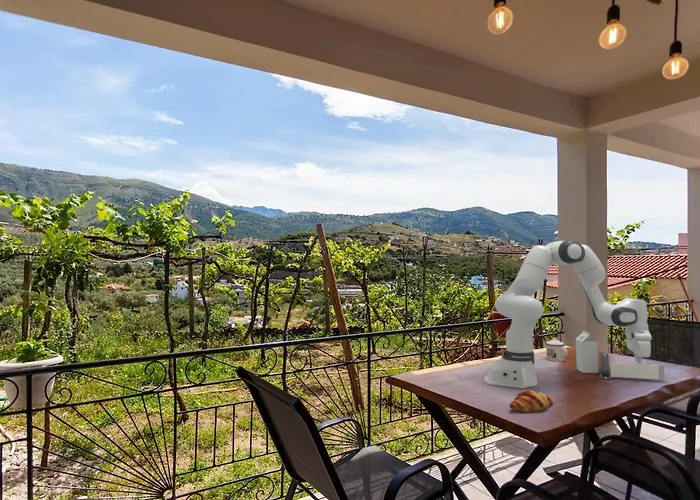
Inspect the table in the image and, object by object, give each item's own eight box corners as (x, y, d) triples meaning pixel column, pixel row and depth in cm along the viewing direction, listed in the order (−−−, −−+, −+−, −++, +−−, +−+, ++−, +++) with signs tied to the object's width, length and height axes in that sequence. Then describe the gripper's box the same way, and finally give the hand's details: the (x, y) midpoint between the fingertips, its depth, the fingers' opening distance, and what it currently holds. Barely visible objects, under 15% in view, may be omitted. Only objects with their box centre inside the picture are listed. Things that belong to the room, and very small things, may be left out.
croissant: (546, 410, 162) (538, 389, 166) (566, 404, 154) (557, 382, 158) (505, 419, 153) (497, 396, 157) (525, 413, 145) (516, 390, 149)
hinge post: (600, 379, 189) (599, 354, 189) (597, 376, 194) (596, 352, 194) (613, 380, 188) (612, 355, 188) (610, 377, 192) (609, 352, 193)
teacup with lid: (542, 358, 230) (541, 337, 230) (554, 357, 233) (554, 336, 233) (560, 363, 219) (559, 341, 219) (573, 361, 222) (572, 339, 222)
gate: (610, 376, 189) (610, 362, 189) (609, 375, 191) (609, 361, 191) (664, 379, 183) (663, 365, 183) (662, 378, 185) (662, 364, 185)
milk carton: (591, 369, 206) (590, 330, 206) (598, 373, 199) (597, 333, 199) (576, 369, 207) (575, 330, 207) (583, 373, 200) (581, 333, 200)
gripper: (622, 328, 204) (623, 357, 204) (636, 336, 185) (638, 368, 184) (637, 328, 202) (638, 357, 202) (653, 336, 183) (654, 368, 183)
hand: (638, 362), depth 193 cm, fingers closed
